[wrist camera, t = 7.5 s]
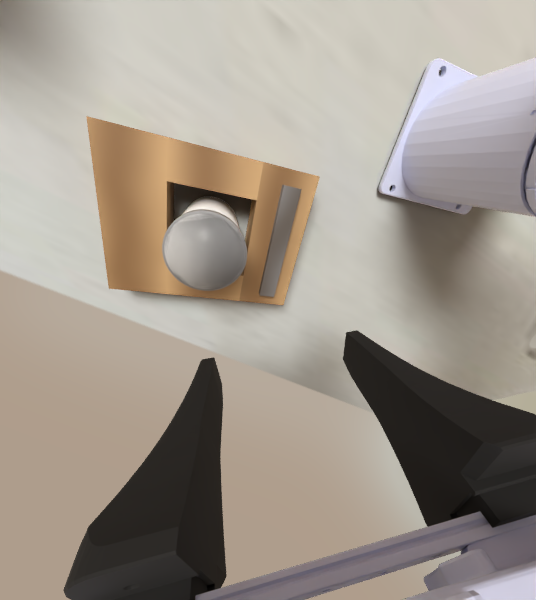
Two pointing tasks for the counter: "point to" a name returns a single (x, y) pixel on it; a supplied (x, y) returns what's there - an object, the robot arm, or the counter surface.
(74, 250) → the counter surface
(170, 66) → the counter surface
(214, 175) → the jig
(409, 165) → the robot arm
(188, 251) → the salt shaker
